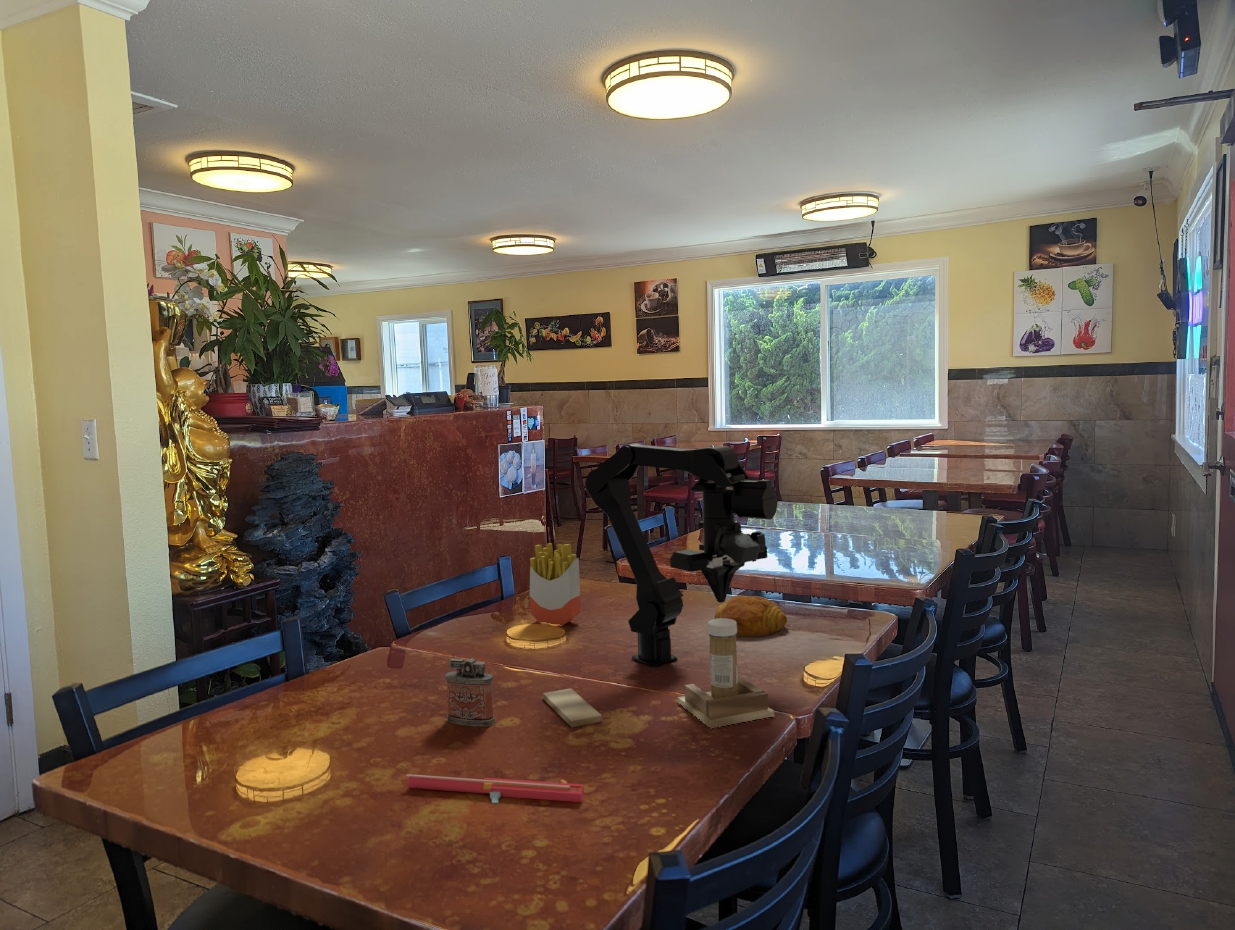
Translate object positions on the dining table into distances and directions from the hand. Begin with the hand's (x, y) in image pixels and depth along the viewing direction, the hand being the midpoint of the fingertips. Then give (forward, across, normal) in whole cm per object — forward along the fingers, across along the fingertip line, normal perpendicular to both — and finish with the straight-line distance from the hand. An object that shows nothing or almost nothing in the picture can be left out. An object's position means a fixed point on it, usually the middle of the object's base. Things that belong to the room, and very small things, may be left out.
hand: (721, 602), depth 151 cm
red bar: (+14, -54, -17) cm, 59 cm away
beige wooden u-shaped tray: (+13, -12, -14) cm, 23 cm away
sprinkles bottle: (+12, -12, -14) cm, 22 cm away
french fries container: (+13, -6, +50) cm, 52 cm away
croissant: (+13, +24, +18) cm, 33 cm away
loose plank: (+14, -31, +2) cm, 34 cm away
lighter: (+13, -46, +8) cm, 49 cm away
